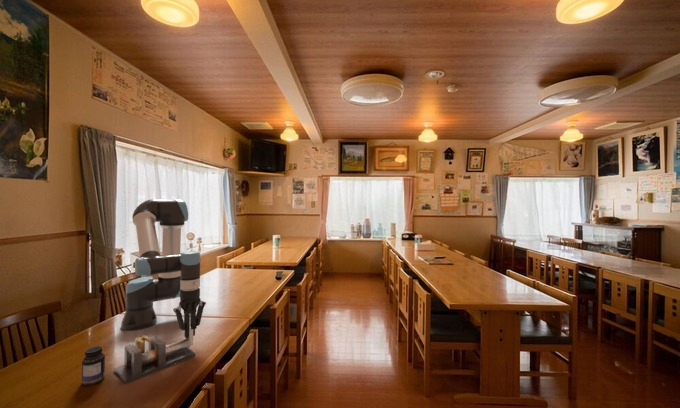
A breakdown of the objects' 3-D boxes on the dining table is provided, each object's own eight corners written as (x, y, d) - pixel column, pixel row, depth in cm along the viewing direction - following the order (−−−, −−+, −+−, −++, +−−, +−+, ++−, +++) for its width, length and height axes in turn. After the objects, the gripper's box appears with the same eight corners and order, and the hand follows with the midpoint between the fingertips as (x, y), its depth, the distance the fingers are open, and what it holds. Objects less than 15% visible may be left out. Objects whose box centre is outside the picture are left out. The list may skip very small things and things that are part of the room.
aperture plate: (134, 361, 113) (134, 337, 113) (143, 357, 115) (144, 334, 115) (141, 367, 109) (141, 342, 109) (151, 363, 111) (151, 339, 111)
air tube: (134, 370, 106) (134, 358, 106) (130, 366, 109) (130, 355, 109) (190, 349, 122) (190, 339, 122) (185, 346, 124) (185, 336, 125)
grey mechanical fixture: (114, 371, 108) (114, 347, 108) (181, 346, 127) (181, 326, 127) (125, 383, 101) (125, 357, 101) (195, 355, 120) (195, 333, 120)
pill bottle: (90, 376, 105) (91, 345, 105) (109, 375, 105) (109, 344, 106) (76, 386, 99) (77, 353, 99) (96, 385, 99) (96, 353, 99)
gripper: (178, 293, 116) (177, 353, 116) (209, 286, 127) (209, 341, 127) (169, 290, 121) (169, 347, 121) (200, 283, 131) (200, 336, 131)
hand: (189, 344), depth 124 cm, fingers closed
